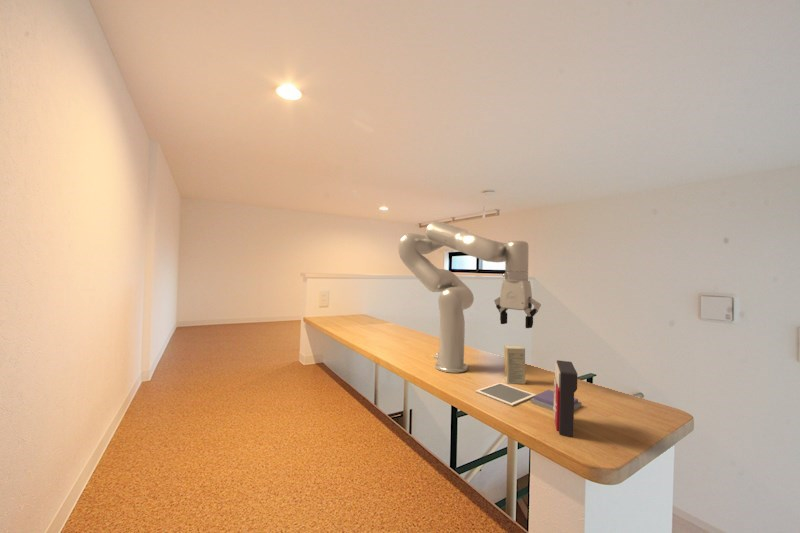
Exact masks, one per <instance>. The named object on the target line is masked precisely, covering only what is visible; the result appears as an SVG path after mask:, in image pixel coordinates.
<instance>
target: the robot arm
mask: <svg viewBox="0 0 800 533" xmlns="http://www.w3.org/2000/svg"><path fill="white" fill-rule="evenodd" d="M442 247H447V248H450V249H452V250H455V251H458V252H460V253H463V254H465V255H468V256H471V257H473V258H476V259H479V260H482V261H485V262H488V263H490V262H491V263H503V262H504V263H505V267H504V268H505V269H504V270H505V272H504V273H502V277H504V279H505V280H502V284H501V288H500V296H499V297H497V298H496V299H494V304H495V305H496V306H495V307H496V309H497V310H498V313H499V315H500V316H499V320H500V325H505V324H508V312H507V311H508V310H517V311H524V313H525V314H526V316H525V326H524V327H525V329H530V328H533V325H534V317H535V316H536V314H537V313H538V312H539V310H540V308H541V306H542V304H541V303H540V302H538V301H537V300H535V299H533V292H532V286H531V281H530V280H529V243H528V242H526V241H523V240H511V241H508V242H500V241H497V240H492V239H490V238H486V237H482V236H479V235H477V234H474V233H472V232H469V231H468V230H467V229H464V228H461V227H457V226H454V225H452V224H449V223H445V222H442V221H438V220H437V221H436V220H435V221H432V222H430V223H428V225H427V226H426V228H425V234H424V235H423V234H421V233H420V234H419V233H415V232H414V233H407V234H404V235H403V236H402V237H401V238H400V239H399V242H398V255H399V258H400V260H401V262H402V263H403V264H404V265H405V266H406V267H407V269H409V270H410V272H412V273H413V274H414V276H415V277H416V278H417V279H418V280H419V281H420V282H421V284H423V286H424V287H425V288H426V289H427V290H429V292H431V293H440V294H439V295H438V300H437V301H438V302H437V303H438V310H439V352H436V353H435V354H434V355H433V359H435V360H436V359H437V362H436V363H435V364H434V366H435V369H436V370H438V371H441V372H444V373H450V374H451V373H452V374H457V373H458V374H459V373H463V372H466V371H468V370H469V366H468V365H467V364H466V363H465V334H466V333H465V331H466V330H465V329H466V328H465V315H464V310H467V309H469V308H470V307H472V305H473V303H474V293H473V292H472V290H471V289H470V287H468V285H466V284H465V283H464V282H463V281H462V279H460V278H459V277H458V276H457V275H456V274H455V273H454V272H452V271H451V270H448V269H445V268H444V269H443V268H438V267H437V266H435V265H434V264H433V263H432V262H431V261H430V260H429V259H428V258H427V257H426V256H425V255H428V254H430V253H432V252H434V251H437V250H438V249H440V248H442ZM533 306H534V307H533Z"/></svg>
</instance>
